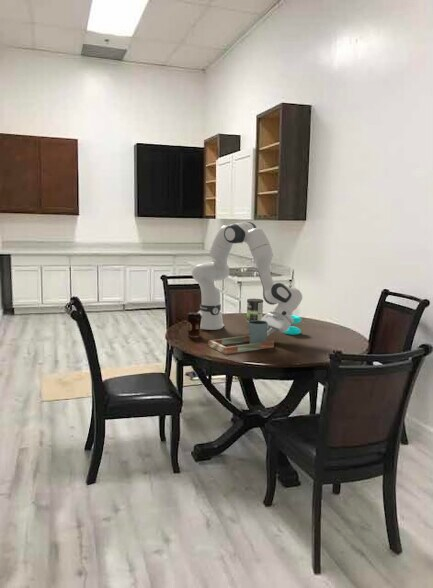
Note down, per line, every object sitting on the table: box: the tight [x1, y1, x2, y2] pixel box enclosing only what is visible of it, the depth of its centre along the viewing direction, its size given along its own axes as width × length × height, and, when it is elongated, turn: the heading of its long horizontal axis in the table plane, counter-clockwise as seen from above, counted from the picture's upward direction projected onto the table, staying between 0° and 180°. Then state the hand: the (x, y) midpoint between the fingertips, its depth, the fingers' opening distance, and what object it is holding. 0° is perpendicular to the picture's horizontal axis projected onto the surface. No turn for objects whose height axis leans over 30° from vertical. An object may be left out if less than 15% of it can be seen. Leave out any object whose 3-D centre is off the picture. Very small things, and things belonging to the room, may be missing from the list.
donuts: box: [283, 314, 302, 336], centre depth 281 cm, size 10×10×10 cm
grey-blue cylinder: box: [247, 320, 268, 344], centre depth 255 cm, size 10×10×12 cm
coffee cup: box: [185, 311, 202, 338], centre depth 271 cm, size 9×8×13 cm
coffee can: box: [246, 298, 264, 323], centre depth 312 cm, size 10×10×14 cm
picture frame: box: [207, 334, 275, 355], centre depth 251 cm, size 17×29×3 cm, turn 120°
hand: (265, 334), depth 258 cm, fingers closed, pressing on grey-blue cylinder
